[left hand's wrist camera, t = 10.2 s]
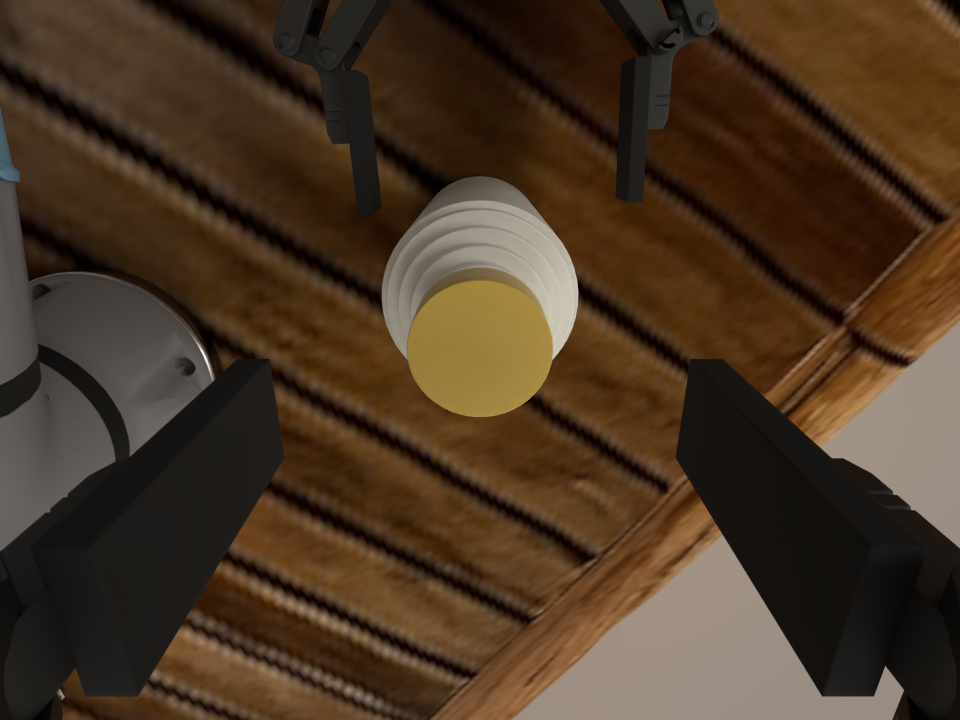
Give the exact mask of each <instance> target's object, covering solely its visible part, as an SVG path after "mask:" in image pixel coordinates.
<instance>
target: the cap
mask: <svg viewBox="0 0 960 720" xmlns="http://www.w3.org/2000/svg"><path fill="white" fill-rule="evenodd" d="M552 357H553V340H552V334H551V330H550V327H549V324H548V321H547V319H546V316H545V313H544V311H543V308H542V306H541V304H540V302H539V300H538V299H537V297H536V295H535V294H534V293H533V292H532V290H531V289H530V288H529V287H528V286H527V285H526V284H524V283H523V282H522V281H520V280H519V279H518V278H516V277H514V276H512V275H510V274H509V273H506V272H503V271H500V270H496V269H492V268H483V267H480V268H468V269H463V270H460V271H456V272H454V273H452V274H449V275H447V276H445V277H444V278H442V279H441V280H439V281H438V282H437V283H436V284H434V285H433V286H432V287H431V288H430V289H429V290H428V291H427V293H426V294H425V295H424V297H423V298H422V300H421V302H420V304H419V306H418V308H417V310H416V313H415V316H414V318H413V321H412V324H411V327H410V330H409V333H408V339H407V359H408V363H409V367H410V370H411V372H412V375H413V377H414V379H415V381H416V382H417V384H418V385H419V387H420V388H421V390H422V391H423V392H424V393H425V394H426V395H427V396H428V397H429V398H430V399H431V400H433V401H434V402H435V403H437V404H438V405H440V406H441V407H443V408H445V409H447V410H449V411H451V412H454V413H458V414H461V415H466V416H473V417H488V416H494V415H499V414H502V413H506V412H508V411H510V410H513V409H515V408H517V407H518V406H520V405H522V404H523V403H525V402H526V401H527V400H529V399H530V398H531V397H532V396H533V395H534V394H535V393H536V392H537V390H538V389H539V388H540V387H541V385H542V384H543V382H544V380H545V379H546V377H547V374H548V372H549V369H550V366H551V363H552Z"/></svg>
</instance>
